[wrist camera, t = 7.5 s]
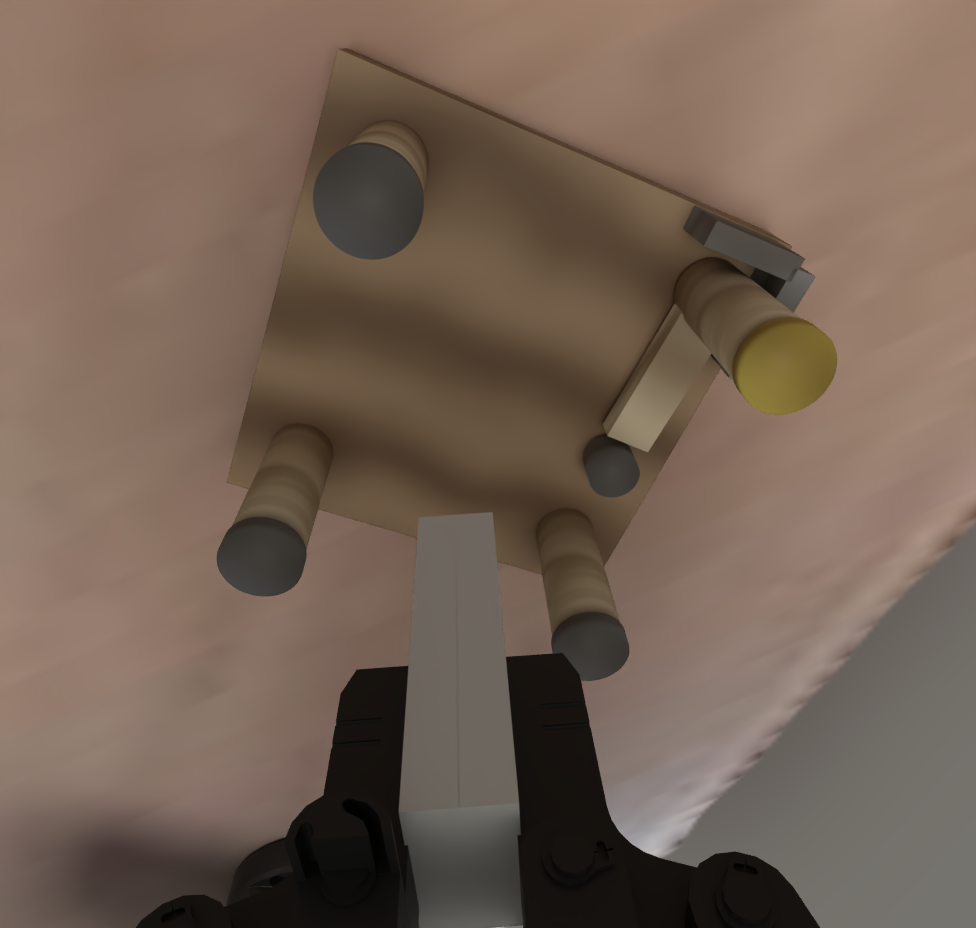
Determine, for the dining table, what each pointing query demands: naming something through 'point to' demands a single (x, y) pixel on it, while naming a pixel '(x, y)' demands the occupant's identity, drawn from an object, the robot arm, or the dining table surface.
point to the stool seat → (468, 342)
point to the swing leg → (685, 349)
